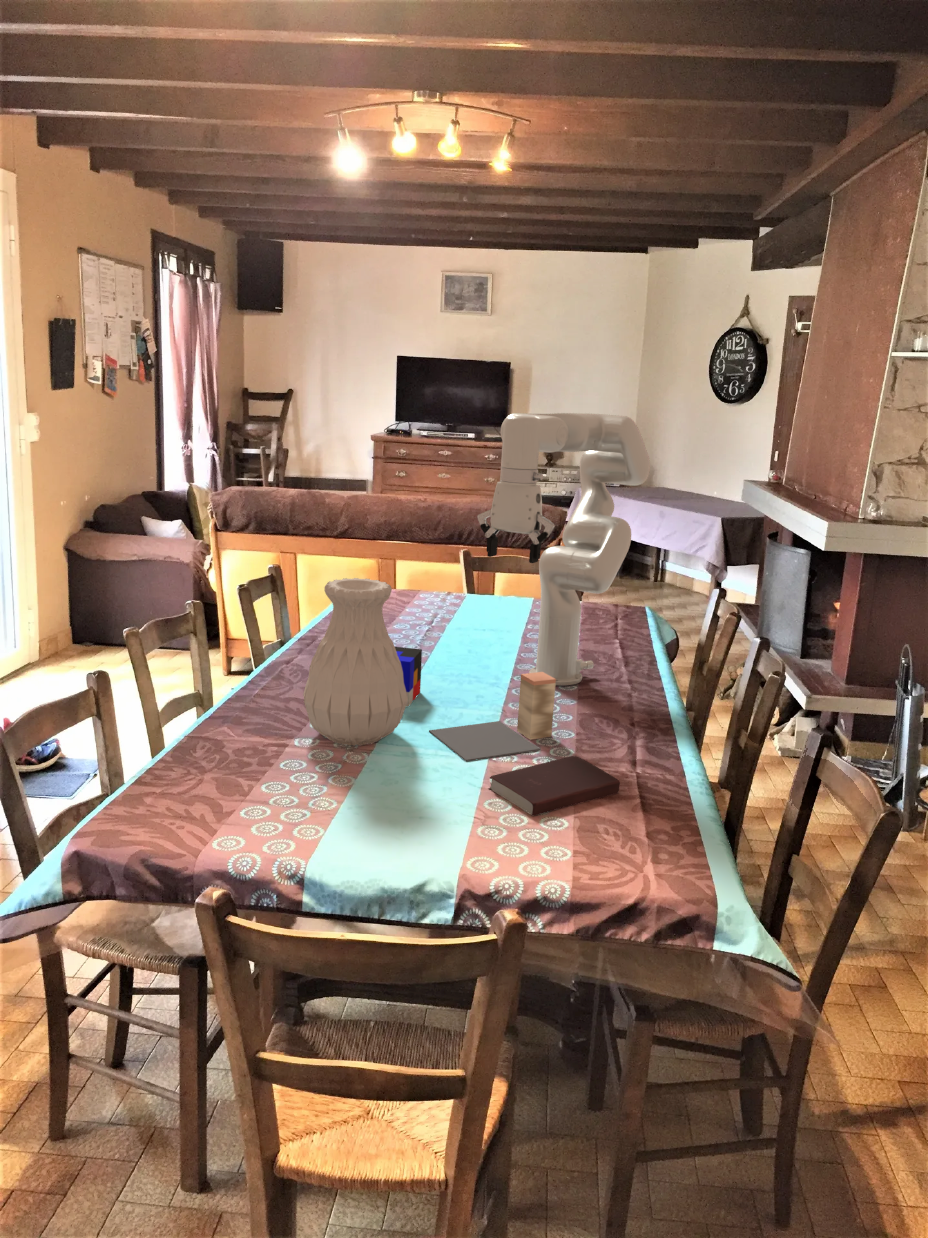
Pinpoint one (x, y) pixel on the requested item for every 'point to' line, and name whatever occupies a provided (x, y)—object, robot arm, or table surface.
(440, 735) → the mat
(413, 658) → the puzzle toy
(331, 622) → the vase
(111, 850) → the table surface
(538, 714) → the tall block
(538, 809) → the book
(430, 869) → the table surface
